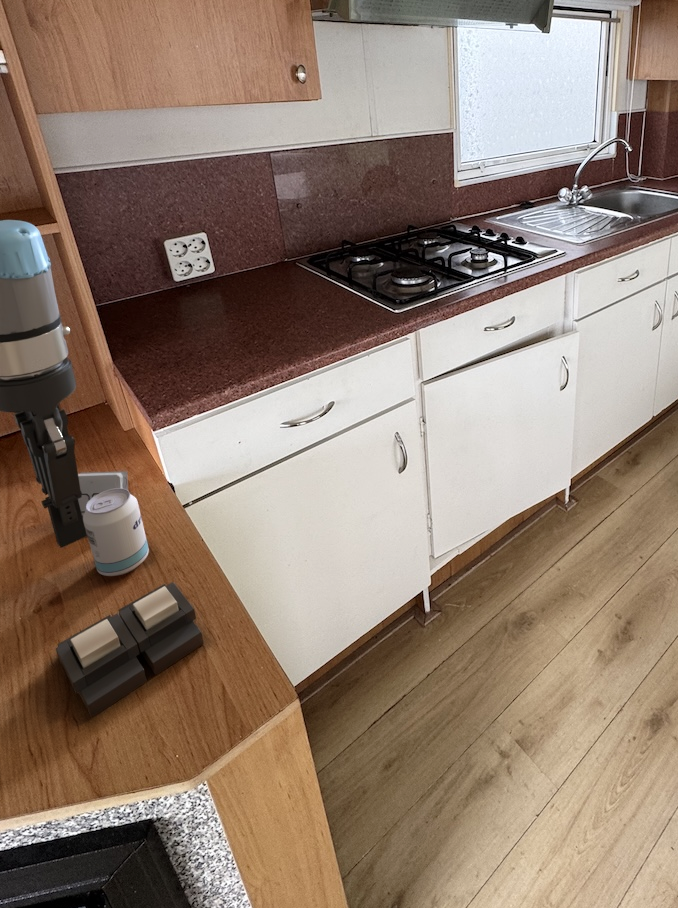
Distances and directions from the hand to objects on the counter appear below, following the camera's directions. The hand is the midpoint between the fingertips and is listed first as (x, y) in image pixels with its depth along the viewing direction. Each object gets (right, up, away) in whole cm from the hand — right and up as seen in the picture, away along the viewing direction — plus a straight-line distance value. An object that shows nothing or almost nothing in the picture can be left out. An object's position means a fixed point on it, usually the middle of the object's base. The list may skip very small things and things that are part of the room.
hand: (71, 538), depth 70 cm
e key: (+6, -13, +7) cm, 16 cm away
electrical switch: (-16, -9, +29) cm, 34 cm away
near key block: (+2, -18, +3) cm, 18 cm away
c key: (+2, -15, +2) cm, 15 cm away
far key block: (+6, -16, +8) cm, 19 cm away
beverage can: (-6, -12, +20) cm, 24 cm away
